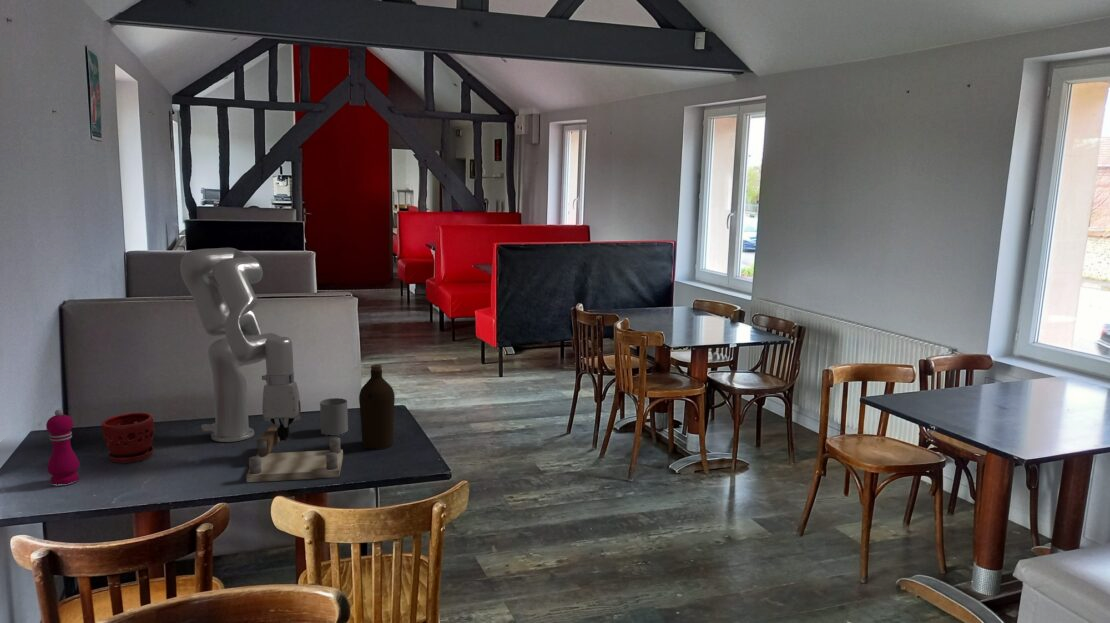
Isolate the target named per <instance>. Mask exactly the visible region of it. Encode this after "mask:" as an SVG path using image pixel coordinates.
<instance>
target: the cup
mask: <svg viewBox="0 0 1110 623" xmlns="http://www.w3.org/2000/svg"><path fill="white" fill-rule="evenodd" d="M319 406H320V407H319V410H320V413H319V414H320V416H319V417H320V433H321V435H323V434H325V435H324V436H328V435H337V436H340V435H339V434H342V435H344V434H343V433H345V432H347V431H348V432H349V419H348V417H349V415H348V414H349V413H348V400H347V399H345V398H340V397H339V398H338V397H336V398H328V399H323V400H321V401H320V402H319ZM348 432H347V433H348ZM345 434H346V433H345Z"/></svg>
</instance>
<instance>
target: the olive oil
mask: <svg viewBox="0 0 1110 623" xmlns="http://www.w3.org/2000/svg"><path fill="white" fill-rule="evenodd" d="M382 366H383V365H382V364H372V365H370V368H371V369H370V378H369V379H368V381H366V382H365V384H364V385H363V386H362V387H361V389H360V392H359V395H358V404H359V415H360V425H361V426H360V427H361V441H362V442H361V443H362V444H361V445H362V447H364V448H366V449H368V450H381V449H388V448H390V447H392V446H393V445H394V426H395V401H396V400H395V399H396V397H395V392H394V389H393V387H392V385H390V384H389V383H388V382H387V380H385V379H384V378H383V370H382Z"/></svg>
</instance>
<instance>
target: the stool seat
mask: <svg viewBox="0 0 1110 623" xmlns="http://www.w3.org/2000/svg"><path fill="white" fill-rule="evenodd" d="M343 458H344V450H343V449H341V438H340V437H338V436H337V437H335V436H333V437H331V438H329V450H327V449H324V450H307V451H306V450H305V451H292V452H291V451H289V452H288V451H287V452H270V453H269V454H267V455H258V453H257V454H256V455H255V456H251V457H249V458H248V464H249V466H248V467H249V470H248V471H247V474H246V483H258V482H263V483H264V482H277V481H278V482H280V481H292V480H293V481H294V480H295V481H296V480H312V479H327V478H328V479H331V478H340V476H341V475H340V474H341V471H342V470H341V469H342V465H343V464H342V463H343Z"/></svg>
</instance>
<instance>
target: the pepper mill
mask: <svg viewBox="0 0 1110 623" xmlns="http://www.w3.org/2000/svg"><path fill="white" fill-rule="evenodd" d="M73 427H74V421H73V418H72V417H71V416H70V415H67V414H64V413H63V410H62V409H59V408H58V409H56V410H55V411H54V415H53V416H51V417H49V419H48V420H47V421H46V430H47V432H49V433H50V434H49V436H48V437H49V441H51V443H52V452H51V455H50V457H49V460H48V462H47V468H46V469H47V472H48V474H49V475H51V477H50V484H51V483H52V484H57V485H58V484H68V483H71V482H74V481H77V480H78V479H79V473H78V472H77V471H78V470H79V468H80V461H79V458H78V456H77V455H76V453H75V451H74V450H73V448H72V445H71V439H72V437H73V433H72V431H71V430H72V429H73ZM79 480H80V479H79ZM79 480H78V481H79ZM78 481H77V482H78Z"/></svg>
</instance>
